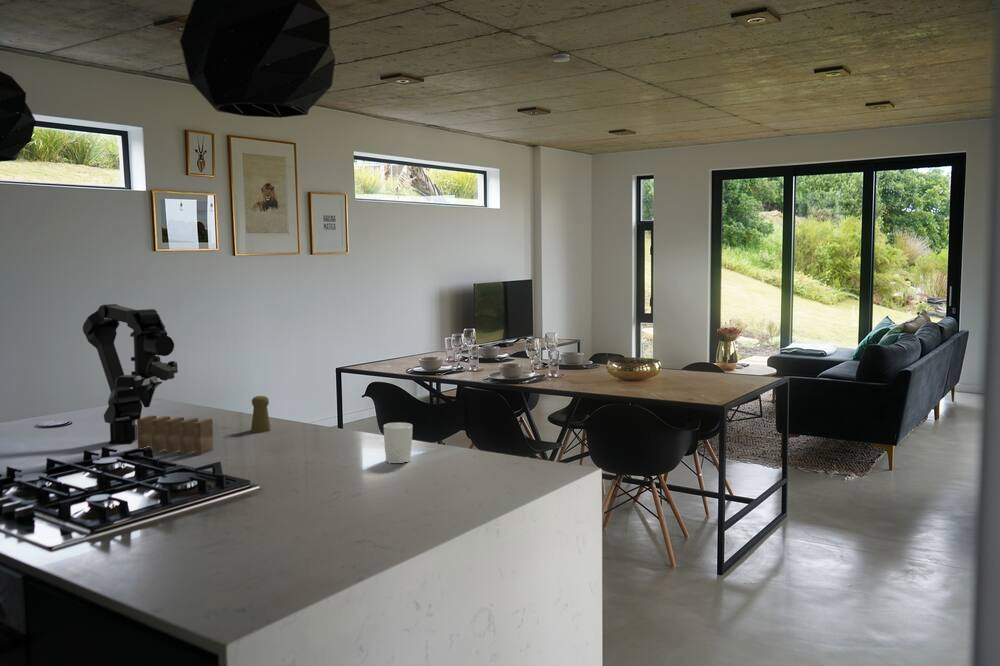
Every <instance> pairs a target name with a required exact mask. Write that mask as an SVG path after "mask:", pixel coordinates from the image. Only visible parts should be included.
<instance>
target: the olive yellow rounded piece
mask: <svg viewBox="0 0 1000 666" xmlns="http://www.w3.org/2000/svg"><path fill="white" fill-rule="evenodd" d="M269 400H270V399H269V398H268V397H267V396H266V395H257V396H254V397H253V398H252V399H251V404H252V406H253V410H252V420H251V427H250V432H252V433H266V432H270V431H271V424H270V416H269V409H268V406H269V405H270V404H269V403H270V401H269Z"/></svg>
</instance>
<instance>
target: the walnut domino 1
mask: <svg viewBox="0 0 1000 666" xmlns="http://www.w3.org/2000/svg"><path fill="white" fill-rule="evenodd" d="M157 418H158V417H157V415H150V414H149V415H147V416H144V417H140V419H137V420H136V425H137V435H138V439H137V450H138V449H140V448H144V447H147V446H151V447H152V434H151V420H154V419H157Z"/></svg>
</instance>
